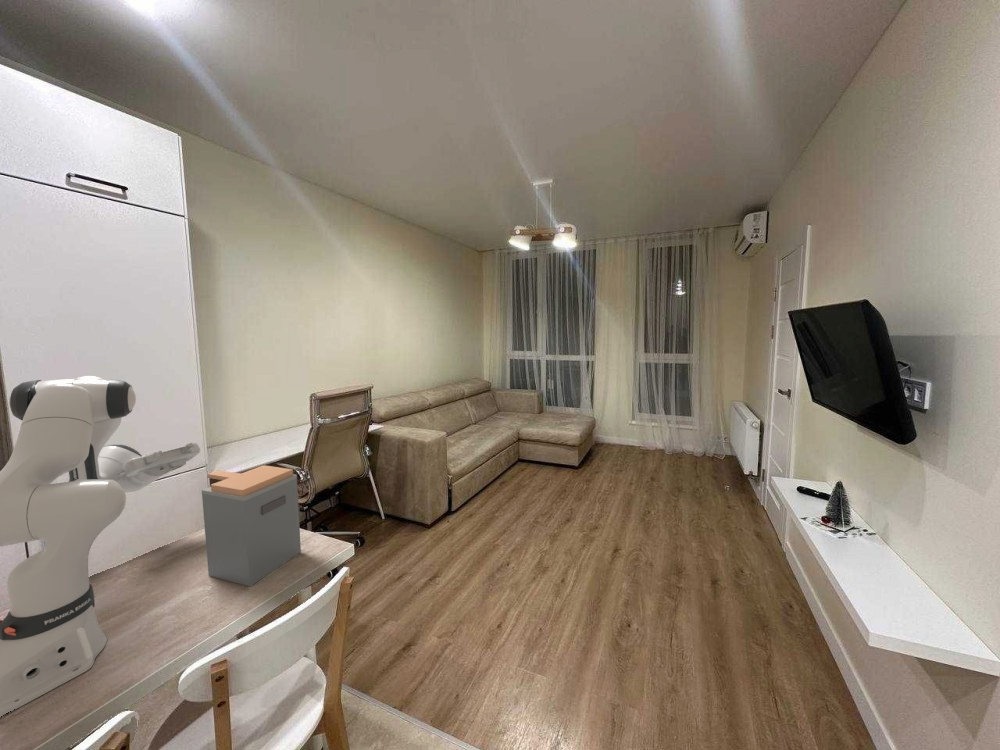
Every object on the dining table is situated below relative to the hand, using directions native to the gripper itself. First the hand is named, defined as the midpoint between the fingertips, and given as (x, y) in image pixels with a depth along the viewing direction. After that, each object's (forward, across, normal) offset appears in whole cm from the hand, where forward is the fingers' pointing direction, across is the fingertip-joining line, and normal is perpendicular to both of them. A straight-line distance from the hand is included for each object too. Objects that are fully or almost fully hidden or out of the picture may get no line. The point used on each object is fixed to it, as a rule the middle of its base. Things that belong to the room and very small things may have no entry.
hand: (176, 449), depth 125 cm
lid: (+20, 0, +19) cm, 28 cm away
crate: (+11, 0, +44) cm, 46 cm away
